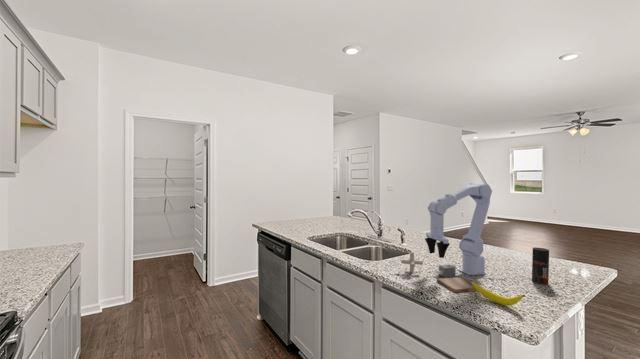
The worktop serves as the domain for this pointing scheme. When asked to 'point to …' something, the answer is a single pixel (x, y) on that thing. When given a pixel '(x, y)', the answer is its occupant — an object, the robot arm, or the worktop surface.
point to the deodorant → (540, 266)
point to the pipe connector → (412, 262)
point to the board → (457, 284)
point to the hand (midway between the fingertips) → (436, 255)
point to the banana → (497, 296)
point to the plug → (446, 271)
